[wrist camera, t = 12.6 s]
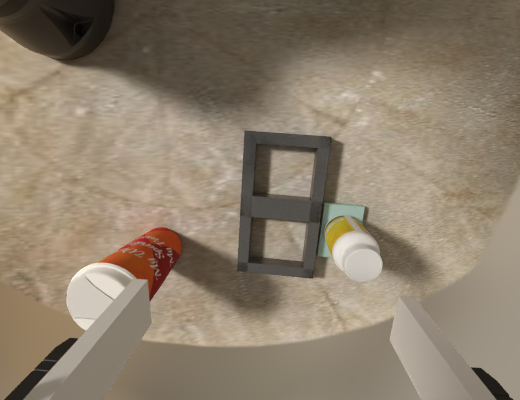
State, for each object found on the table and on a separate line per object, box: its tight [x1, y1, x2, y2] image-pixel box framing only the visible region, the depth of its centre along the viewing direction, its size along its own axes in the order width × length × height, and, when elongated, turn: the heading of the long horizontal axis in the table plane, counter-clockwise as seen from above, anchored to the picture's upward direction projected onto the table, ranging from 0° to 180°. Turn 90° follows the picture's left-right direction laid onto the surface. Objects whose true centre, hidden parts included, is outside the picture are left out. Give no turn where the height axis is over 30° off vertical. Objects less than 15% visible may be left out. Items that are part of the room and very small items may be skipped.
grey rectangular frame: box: [237, 131, 331, 279], centre depth 37 cm, size 20×11×2 cm, turn 176°
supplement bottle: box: [324, 215, 383, 282], centre depth 33 cm, size 5×5×10 cm
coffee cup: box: [67, 228, 182, 330], centre depth 34 cm, size 8×8×15 cm
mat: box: [317, 202, 365, 258], centre depth 38 cm, size 8×6×1 cm
